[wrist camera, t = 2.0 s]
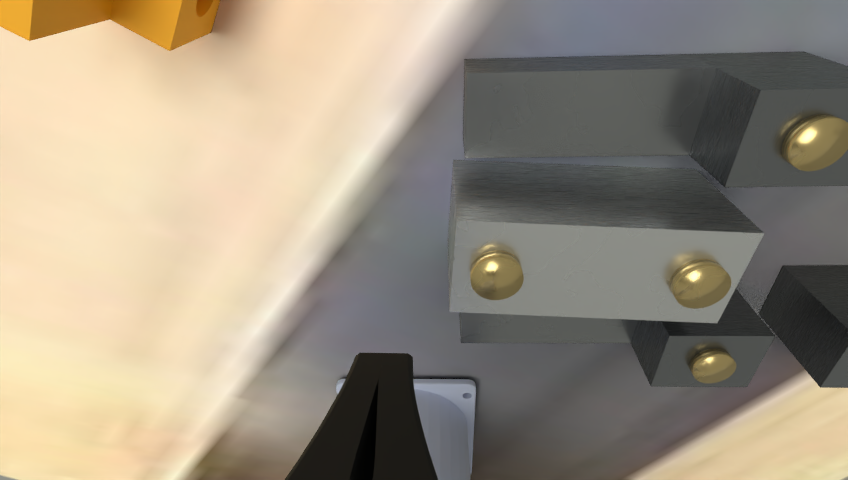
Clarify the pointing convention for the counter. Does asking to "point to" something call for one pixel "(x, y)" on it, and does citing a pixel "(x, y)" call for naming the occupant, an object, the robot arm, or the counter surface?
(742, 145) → the chain end
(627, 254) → the block with brass knobs
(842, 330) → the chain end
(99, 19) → the pipe clamp
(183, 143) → the counter surface
